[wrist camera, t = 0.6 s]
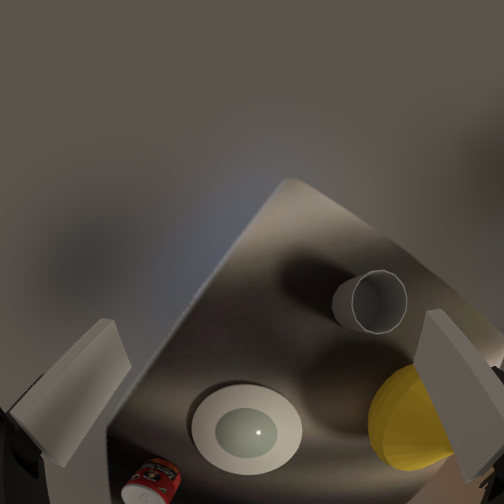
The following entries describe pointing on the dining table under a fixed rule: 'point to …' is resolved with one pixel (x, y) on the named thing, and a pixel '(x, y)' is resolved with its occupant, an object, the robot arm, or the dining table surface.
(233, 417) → the plate
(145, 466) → the canned food
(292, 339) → the dining table surface
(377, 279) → the cup
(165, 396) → the dining table surface
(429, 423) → the vase
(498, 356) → the dining table surface
